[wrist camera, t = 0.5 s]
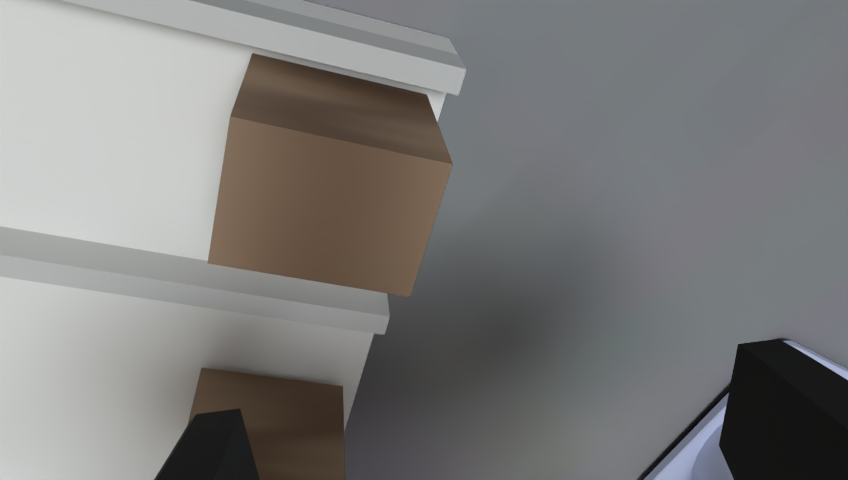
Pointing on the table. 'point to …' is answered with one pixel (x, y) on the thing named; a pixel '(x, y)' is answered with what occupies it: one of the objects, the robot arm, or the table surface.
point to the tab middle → (281, 422)
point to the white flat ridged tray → (156, 221)
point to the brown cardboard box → (328, 178)
